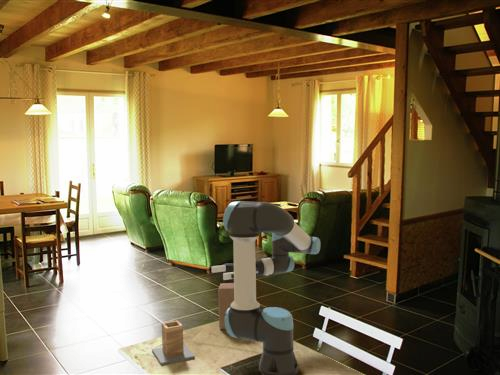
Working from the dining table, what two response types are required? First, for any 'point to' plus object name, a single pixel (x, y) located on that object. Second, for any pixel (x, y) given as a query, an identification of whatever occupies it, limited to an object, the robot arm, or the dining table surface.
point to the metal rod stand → (167, 360)
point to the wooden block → (225, 301)
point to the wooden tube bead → (172, 338)
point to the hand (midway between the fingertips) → (217, 273)
